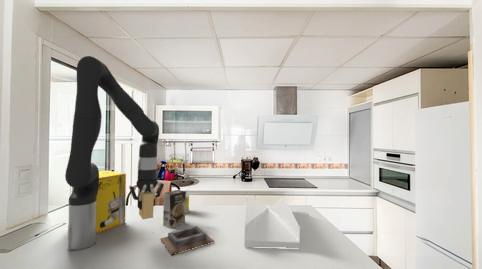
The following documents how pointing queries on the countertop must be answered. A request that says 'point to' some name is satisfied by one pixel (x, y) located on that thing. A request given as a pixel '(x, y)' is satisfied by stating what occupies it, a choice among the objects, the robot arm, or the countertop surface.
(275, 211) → the building model
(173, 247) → the slot base
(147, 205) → the key block
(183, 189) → the supplement bottle
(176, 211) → the coffee box
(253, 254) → the countertop surface
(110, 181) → the packaging box
